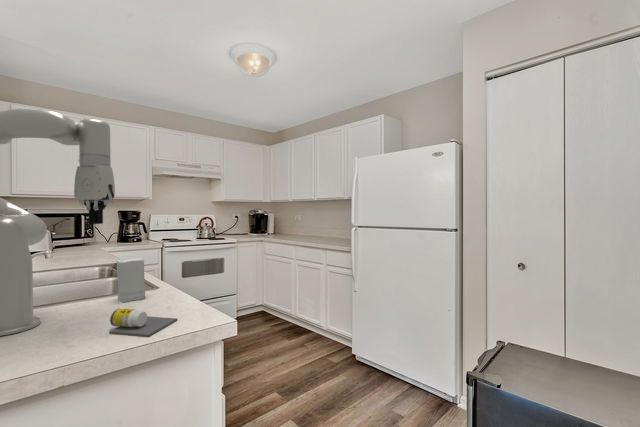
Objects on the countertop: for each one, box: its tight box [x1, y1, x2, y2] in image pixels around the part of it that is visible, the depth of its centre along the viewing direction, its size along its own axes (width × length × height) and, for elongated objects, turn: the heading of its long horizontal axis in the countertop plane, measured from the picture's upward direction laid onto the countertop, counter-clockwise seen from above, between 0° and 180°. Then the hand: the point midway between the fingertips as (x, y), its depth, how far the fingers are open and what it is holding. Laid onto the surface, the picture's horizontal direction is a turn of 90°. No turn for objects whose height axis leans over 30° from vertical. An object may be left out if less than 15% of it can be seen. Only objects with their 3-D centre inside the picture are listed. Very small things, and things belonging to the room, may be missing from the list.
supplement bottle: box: [109, 308, 148, 327], centre depth 87 cm, size 5×5×8 cm
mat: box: [108, 315, 178, 338], centre depth 88 cm, size 12×12×1 cm
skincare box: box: [116, 257, 146, 303], centre depth 114 cm, size 8×6×15 cm
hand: (96, 223), depth 93 cm, fingers closed
